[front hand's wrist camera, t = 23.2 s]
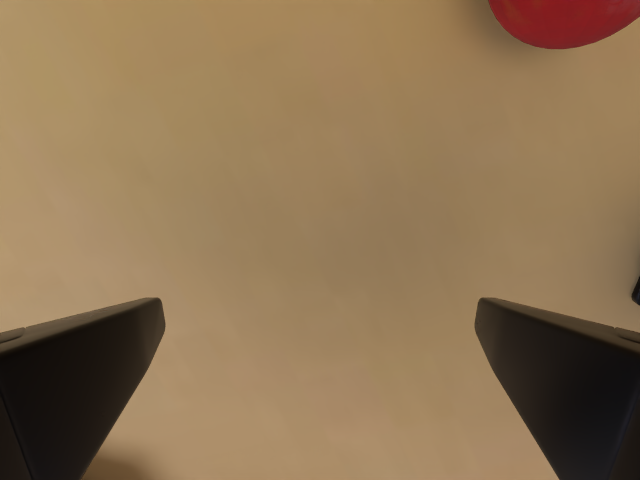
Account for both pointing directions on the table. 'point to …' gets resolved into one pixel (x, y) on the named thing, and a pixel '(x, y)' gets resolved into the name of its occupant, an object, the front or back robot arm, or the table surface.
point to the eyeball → (564, 20)
